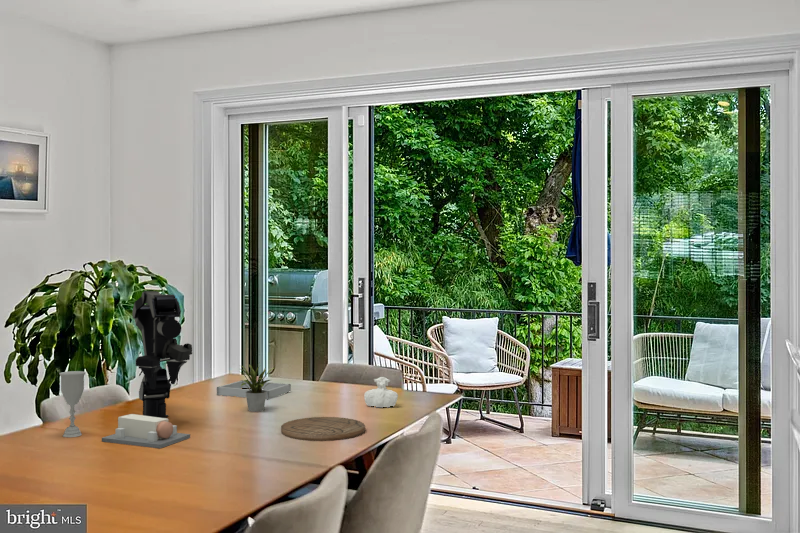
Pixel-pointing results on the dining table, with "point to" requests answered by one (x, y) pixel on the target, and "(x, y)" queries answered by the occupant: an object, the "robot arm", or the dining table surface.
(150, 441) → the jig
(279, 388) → the tray
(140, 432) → the white block
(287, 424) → the trivet
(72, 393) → the chalice
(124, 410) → the dining table surface
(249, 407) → the house plant
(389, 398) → the bust
